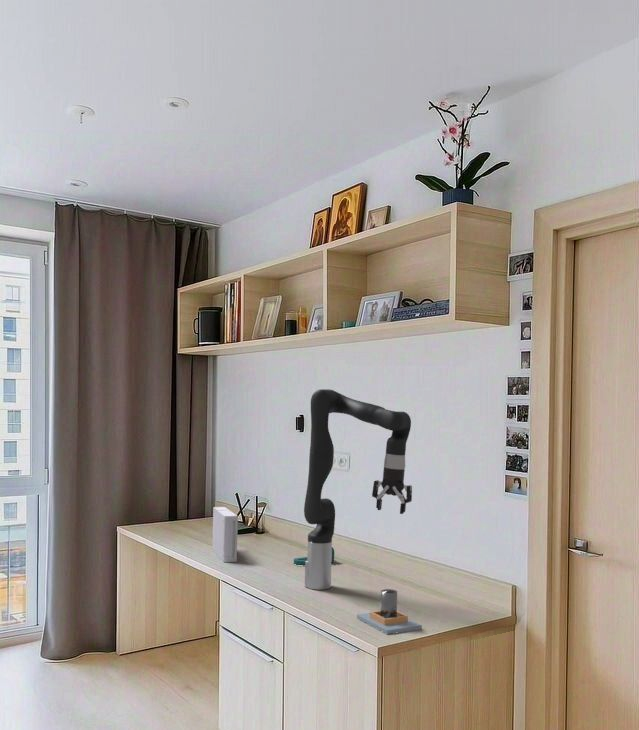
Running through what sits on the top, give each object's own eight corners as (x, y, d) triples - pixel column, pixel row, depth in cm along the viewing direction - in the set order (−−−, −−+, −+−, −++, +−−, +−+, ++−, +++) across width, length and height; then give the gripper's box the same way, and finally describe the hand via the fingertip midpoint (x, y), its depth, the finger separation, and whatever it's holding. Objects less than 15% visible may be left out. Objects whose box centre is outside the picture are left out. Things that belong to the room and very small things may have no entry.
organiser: (356, 618, 239) (356, 608, 240) (390, 613, 245) (390, 604, 246) (386, 634, 224) (386, 624, 224) (421, 629, 230) (421, 619, 230)
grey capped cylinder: (378, 620, 233) (378, 591, 234) (383, 616, 238) (384, 587, 238) (393, 623, 231) (394, 593, 232) (399, 618, 236) (399, 589, 236)
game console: (223, 562, 315) (224, 516, 316) (211, 550, 341) (212, 507, 342) (236, 562, 317) (237, 515, 318) (223, 549, 343) (225, 506, 344)
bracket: (326, 559, 326) (326, 542, 327) (334, 563, 320) (334, 544, 321) (290, 563, 317) (291, 545, 317) (298, 567, 311) (298, 548, 312)
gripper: (372, 465, 262) (368, 510, 262) (410, 470, 256) (406, 516, 256) (379, 463, 269) (375, 507, 269) (416, 468, 263) (412, 513, 263)
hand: (390, 511), depth 262 cm, fingers open, 8 cm apart
